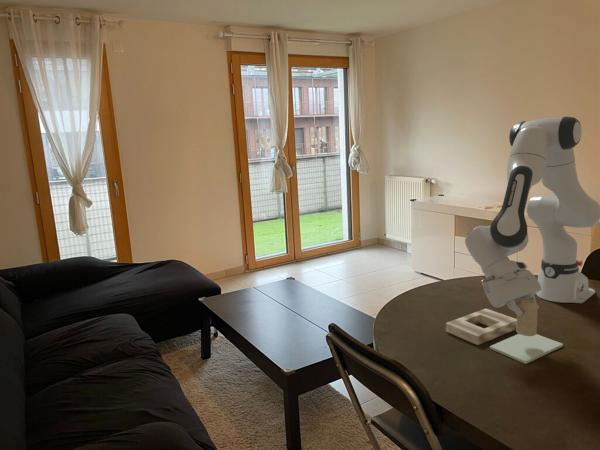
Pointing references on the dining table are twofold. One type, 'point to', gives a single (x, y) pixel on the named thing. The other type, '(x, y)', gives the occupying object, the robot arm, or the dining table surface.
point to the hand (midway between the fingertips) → (529, 312)
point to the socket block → (476, 334)
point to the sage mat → (526, 347)
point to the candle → (527, 318)
